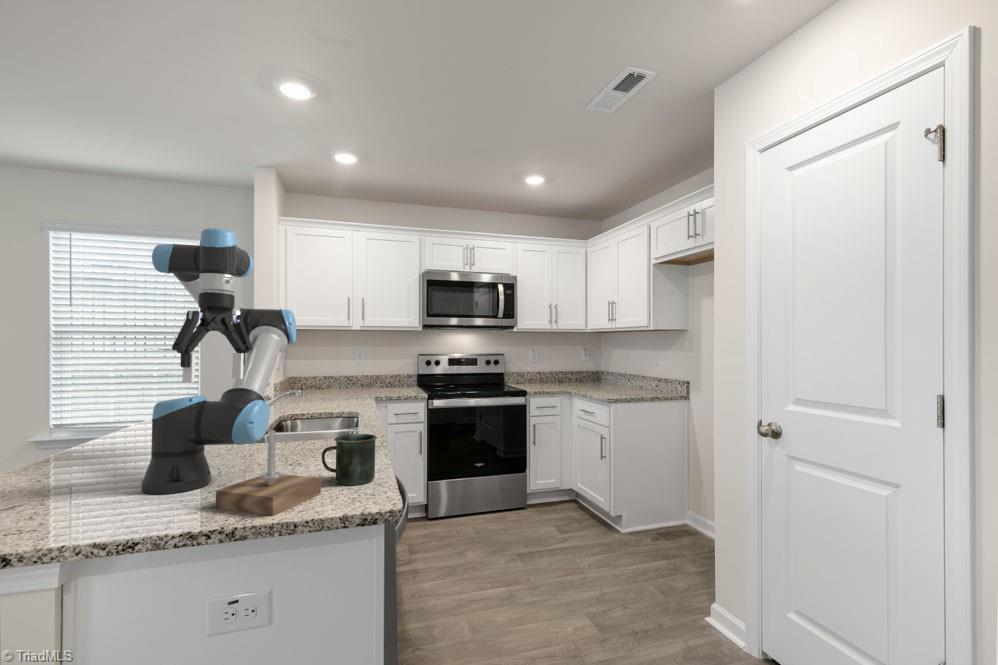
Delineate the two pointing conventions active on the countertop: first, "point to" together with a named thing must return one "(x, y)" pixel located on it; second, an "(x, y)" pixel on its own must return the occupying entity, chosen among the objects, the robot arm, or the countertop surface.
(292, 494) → the wooden block
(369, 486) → the countertop surface
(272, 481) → the screw
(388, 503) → the countertop surface
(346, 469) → the mug
